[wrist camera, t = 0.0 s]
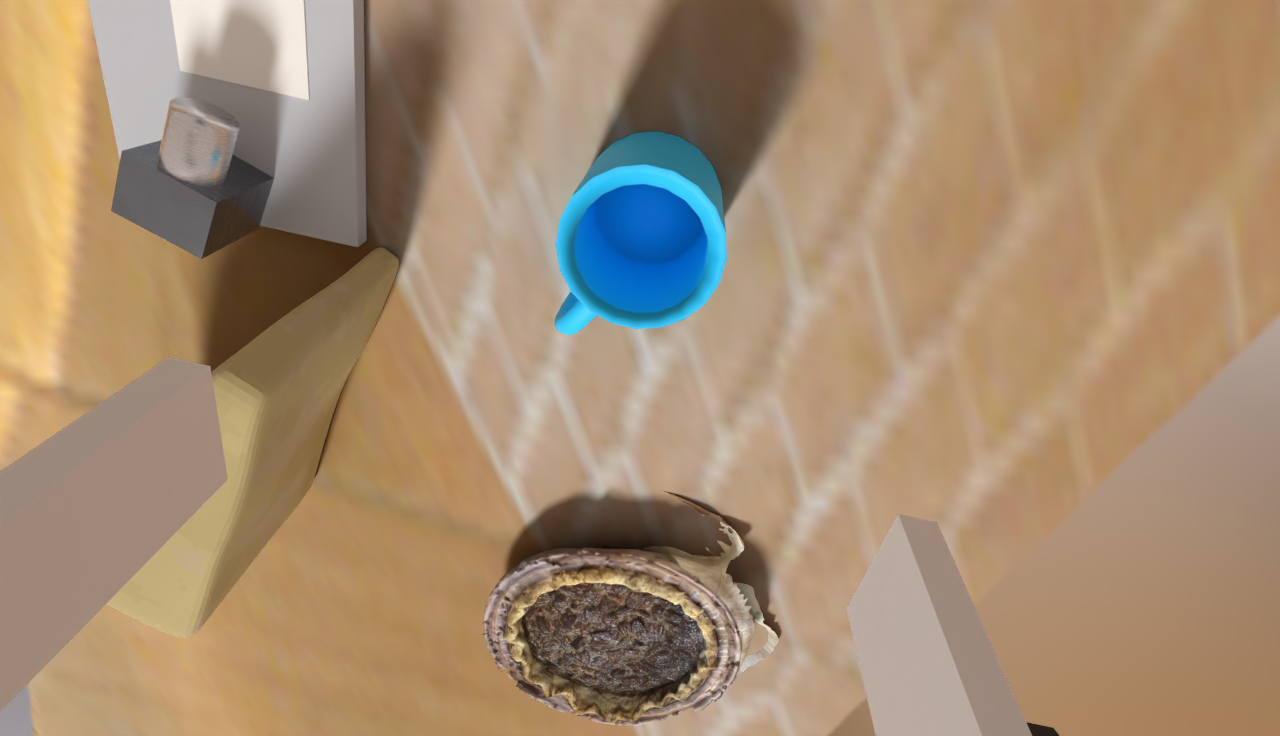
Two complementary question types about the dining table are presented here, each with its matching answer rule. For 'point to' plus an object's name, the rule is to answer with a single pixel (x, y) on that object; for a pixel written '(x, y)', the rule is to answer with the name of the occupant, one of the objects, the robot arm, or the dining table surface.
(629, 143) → the mug
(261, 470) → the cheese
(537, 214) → the dining table surface
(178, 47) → the grey base plate
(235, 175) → the shaft
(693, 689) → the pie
